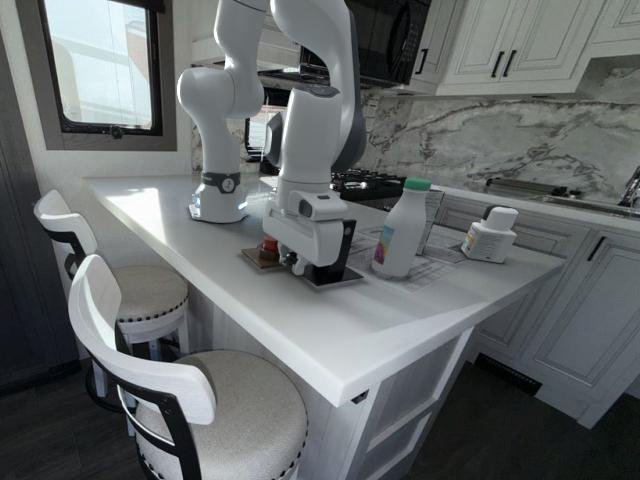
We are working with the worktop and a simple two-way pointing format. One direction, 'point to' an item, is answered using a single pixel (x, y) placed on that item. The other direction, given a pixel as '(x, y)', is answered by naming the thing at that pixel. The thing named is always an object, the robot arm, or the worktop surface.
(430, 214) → the candy bar box
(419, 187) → the milk bottle
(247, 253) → the button block
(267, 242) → the button
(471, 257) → the container
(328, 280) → the bracket
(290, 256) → the lever
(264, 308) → the worktop surface
